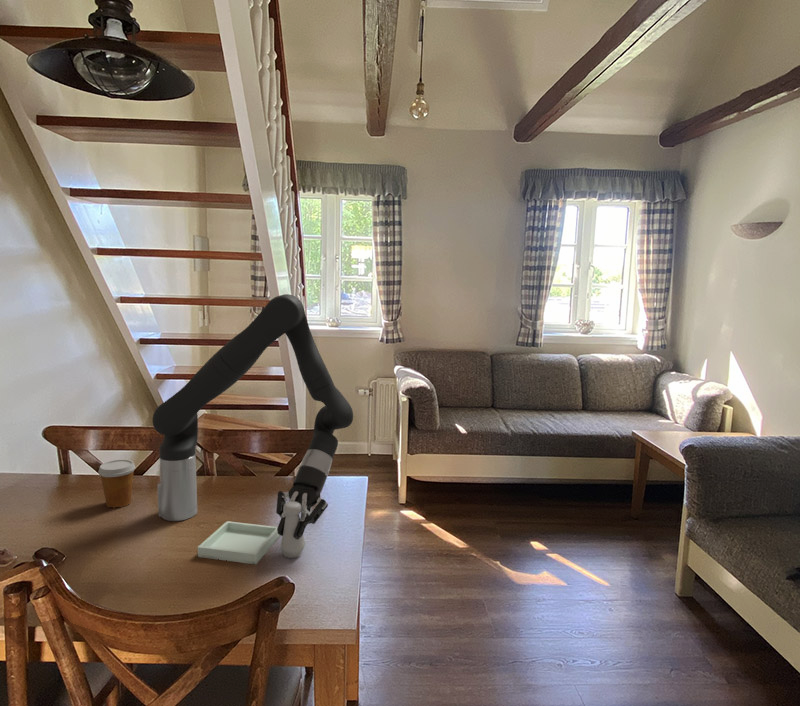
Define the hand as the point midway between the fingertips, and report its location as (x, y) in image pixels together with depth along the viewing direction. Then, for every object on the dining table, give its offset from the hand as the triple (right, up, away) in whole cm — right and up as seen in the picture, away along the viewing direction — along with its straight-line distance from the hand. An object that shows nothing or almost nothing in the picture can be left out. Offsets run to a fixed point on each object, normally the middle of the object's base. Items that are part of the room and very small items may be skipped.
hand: (288, 536), depth 127 cm
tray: (-13, -5, +6) cm, 15 cm away
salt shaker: (+1, -5, +3) cm, 6 cm away
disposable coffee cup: (-56, 0, +28) cm, 62 cm away
